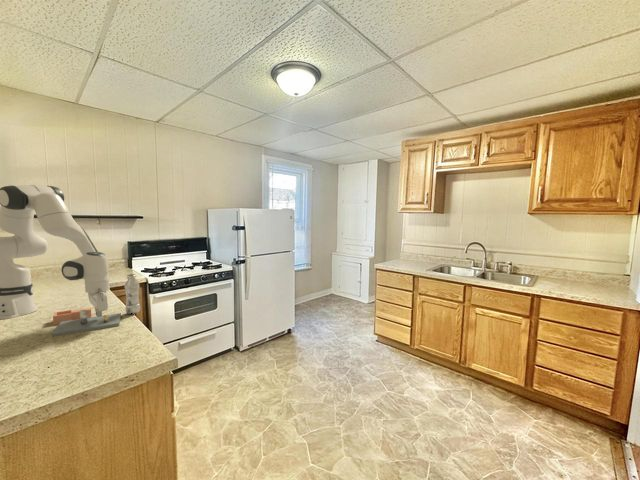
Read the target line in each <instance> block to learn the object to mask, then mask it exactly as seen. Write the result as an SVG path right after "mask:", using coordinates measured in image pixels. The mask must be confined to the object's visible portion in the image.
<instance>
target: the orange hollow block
mask: <svg viewBox="0 0 640 480" xmlns="http://www.w3.org/2000/svg"><path fill="white" fill-rule="evenodd" d="M81 310H87V318H90V317H92V308H91V307H85V308H80V309H69V310H63V311H61V310H60V311H56V312H55V311H54V313H53V315H52V321H53V323H52V324H53V326H54V325H59V324H60V322H62V321H69V320H76V319H80V311H81Z"/></svg>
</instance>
